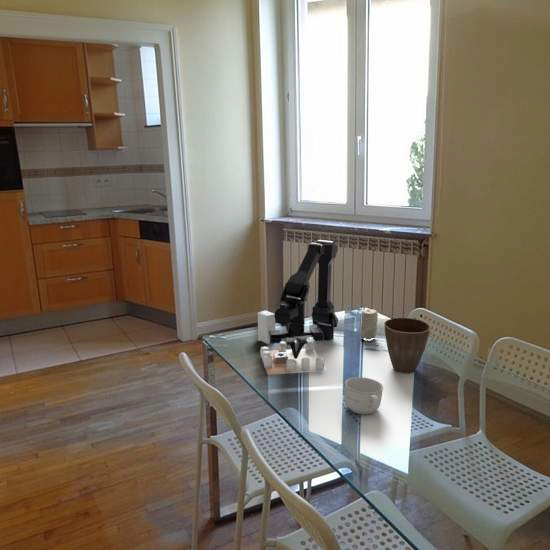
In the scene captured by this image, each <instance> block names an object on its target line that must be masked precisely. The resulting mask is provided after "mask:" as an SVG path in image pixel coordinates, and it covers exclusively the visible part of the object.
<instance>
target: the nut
mask: <svg viewBox="0 0 550 550" xmlns="http://www.w3.org/2000/svg"><path fill="white" fill-rule="evenodd" d="M273 360H274V362H275V364H286V363H287V360H288V356H287V354H286V352H277V353H273Z"/></svg>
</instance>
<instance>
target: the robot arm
mask: <svg viewBox="0 0 550 550" xmlns="http://www.w3.org/2000/svg"><path fill="white" fill-rule="evenodd" d="M338 250H339V247H338V245H337V243H336V242H335V241H334V240H333V241H332V240H326V239H325V240H324V239H317V241H315V242H311V243H308V245H307V251H306V253H305V255H304V257H303V259H302V261H301V263H300V265H299V267H298V269H297V270H296V273H295V272H294V274H292V275H290V276H289V278H288V279H287V281H286V283H285V284H284V287H283V290H282V293H281V296H280V300H279V301H280V302H282V303H280V304H279V307H278V308H277V309H276V310H275V312H274V316H275V322H276V323H277V324H279V325H280V327H285V331H286V332H281V331H280V329H275V330H270V331H269V332H268V339H269V341H270V343H269V344H279V343H280V342H281V341H282V340H284V342H286V346H287V345H288V346H290V349H291V350H292V353H293V356H294V359H297V357H298V355H299V353H300V351H301V349H304V346H305V345H306V344H307V343H308V342H307V340H308V338H312V339H313V341H314V342H323V341H330V340H332V339H334V337H335V336H334V333H335V332H334V331H335V328H337V327H338V324H339V319H338V316H337V314H336V312H335V305H334V304H333V303H332V301H331V293H332V292H331V291H332V289H331V285H332V264H333V262H334V261H335V260H336V258H337V253H338ZM317 264H318V269H317V270H318V271H317V273H318V274H317V275H318V278H317V302H316V303H315V304H314V306H312V308H311V309H312V312H311V319H312V325H315V327H313V328H312V327H310V328H309V330H308V331H305V323H306V321H305V310H306V309H305V308H306V307H305V305H306V302H307V301H308V299H307V298H308V295H309V292H310V287H311V286H310V282H309V281H310V279H311V276H312V274H313V273H314V271H315V268H316V266H317ZM294 341H296V347H295V342H294Z"/></svg>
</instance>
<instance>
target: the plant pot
mask: <svg viewBox="0 0 550 550" xmlns="http://www.w3.org/2000/svg"><path fill="white" fill-rule="evenodd" d="M383 325H384V335H385V342H386V347H387V351H388V356H389V359H390V363H391V366H392V369H393V368H394V369H393V370H394V371H395V370H396V372H398V373H400V374H412V373H415V372H416V369H417V368H418V366H419V364H420V362H421V359H422V357H423V354H424V353H425V350H426V346H427V343H428V338H429V336H430V331H431V326H430V324H429V323H427V322H425V321H423V320H421V319H415V318H409V317H394V318H389V319H387V320H385V321H384V322H383Z"/></svg>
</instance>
